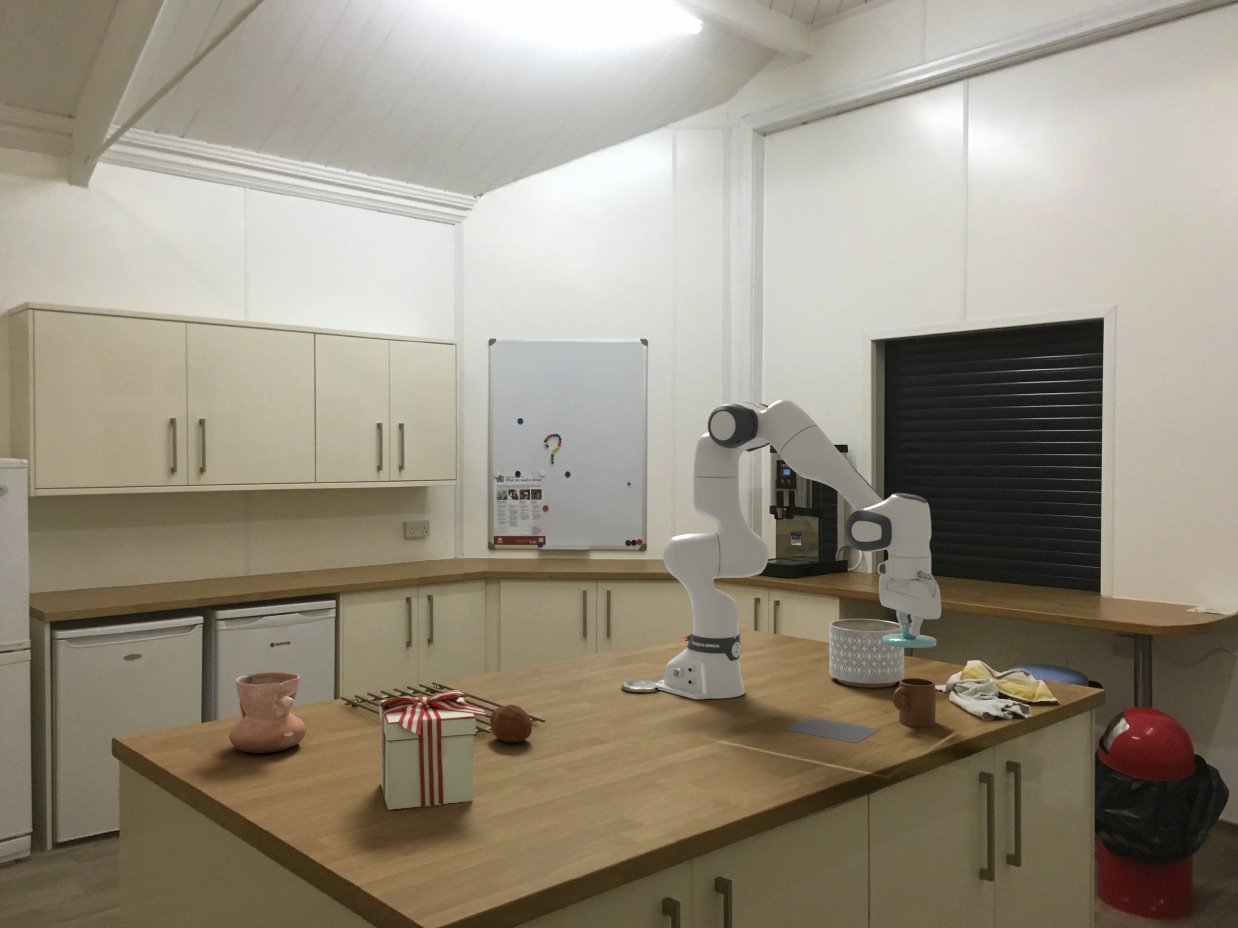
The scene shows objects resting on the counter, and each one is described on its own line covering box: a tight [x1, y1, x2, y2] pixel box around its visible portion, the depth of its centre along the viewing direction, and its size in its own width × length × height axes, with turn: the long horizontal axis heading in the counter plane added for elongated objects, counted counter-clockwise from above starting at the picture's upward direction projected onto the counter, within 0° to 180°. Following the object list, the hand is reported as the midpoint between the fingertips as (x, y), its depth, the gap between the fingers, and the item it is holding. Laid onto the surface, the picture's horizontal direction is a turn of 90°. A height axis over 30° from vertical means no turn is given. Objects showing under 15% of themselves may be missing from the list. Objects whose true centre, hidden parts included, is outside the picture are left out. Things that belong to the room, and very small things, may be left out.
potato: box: [489, 704, 533, 744], centre depth 203 cm, size 8×11×8 cm
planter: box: [828, 618, 905, 688], centre depth 255 cm, size 19×19×14 cm
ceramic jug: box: [228, 671, 307, 754], centre depth 199 cm, size 18×14×14 cm
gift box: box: [378, 689, 487, 811], centre depth 171 cm, size 17×18×17 cm
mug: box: [892, 677, 937, 728], centre depth 212 cm, size 12×8×9 cm, turn 130°
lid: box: [883, 622, 937, 649], centre depth 212 cm, size 11×11×4 cm
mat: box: [785, 716, 881, 744], centre depth 209 cm, size 16×12×1 cm
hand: (909, 633), depth 212 cm, fingers closed on lid, 3 cm apart
